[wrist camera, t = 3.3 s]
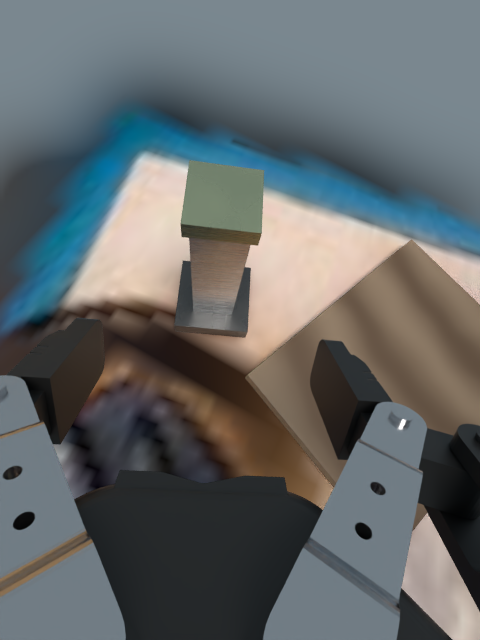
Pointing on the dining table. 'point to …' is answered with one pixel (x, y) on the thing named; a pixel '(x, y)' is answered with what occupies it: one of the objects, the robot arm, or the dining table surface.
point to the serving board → (385, 353)
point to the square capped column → (218, 247)
